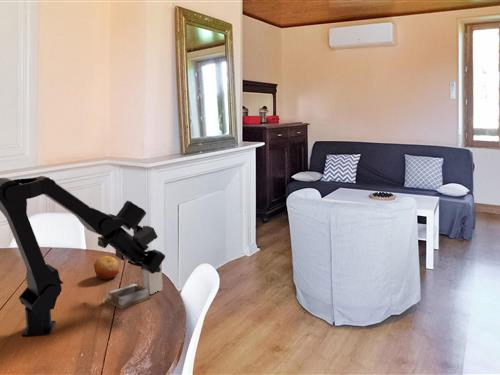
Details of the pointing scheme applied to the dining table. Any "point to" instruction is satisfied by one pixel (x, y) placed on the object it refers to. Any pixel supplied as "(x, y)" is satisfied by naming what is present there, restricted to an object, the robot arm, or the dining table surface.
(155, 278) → the tall cream box
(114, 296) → the track
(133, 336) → the dining table surface
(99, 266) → the fruit
